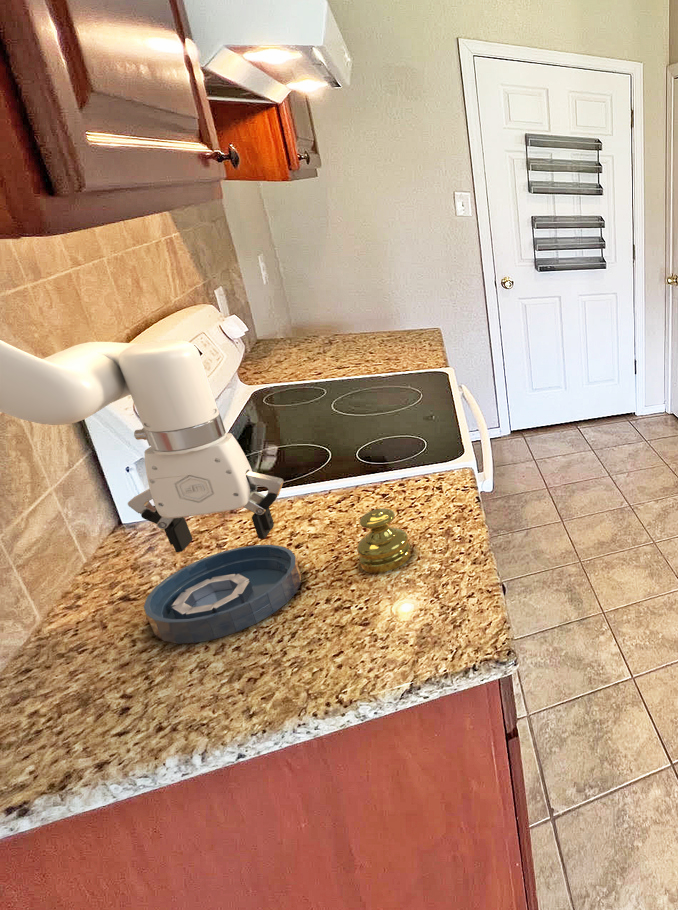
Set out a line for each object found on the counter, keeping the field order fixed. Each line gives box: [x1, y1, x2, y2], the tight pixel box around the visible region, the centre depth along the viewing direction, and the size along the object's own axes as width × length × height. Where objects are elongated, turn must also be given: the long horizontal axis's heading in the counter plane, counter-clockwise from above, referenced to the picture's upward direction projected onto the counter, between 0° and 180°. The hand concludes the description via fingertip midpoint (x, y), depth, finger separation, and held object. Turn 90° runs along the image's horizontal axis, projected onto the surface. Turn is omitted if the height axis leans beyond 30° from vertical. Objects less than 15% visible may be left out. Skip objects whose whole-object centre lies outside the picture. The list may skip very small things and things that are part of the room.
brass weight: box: [356, 508, 412, 574], centre depth 94 cm, size 7×7×10 cm
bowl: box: [143, 544, 302, 645], centre depth 85 cm, size 17×17×4 cm
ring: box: [172, 574, 253, 619], centre depth 85 cm, size 8×8×2 cm
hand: (226, 540), depth 82 cm, fingers open, 9 cm apart
